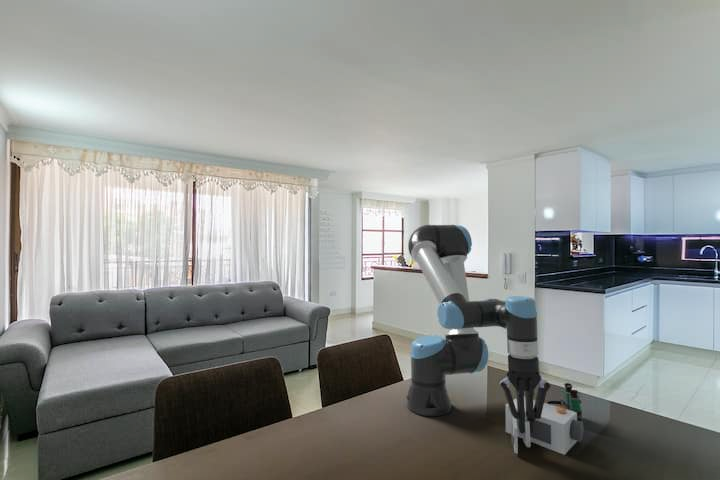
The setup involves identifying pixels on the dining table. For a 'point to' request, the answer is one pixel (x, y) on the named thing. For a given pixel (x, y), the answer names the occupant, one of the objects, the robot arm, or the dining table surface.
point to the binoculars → (570, 401)
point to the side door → (514, 434)
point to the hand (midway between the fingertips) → (526, 444)
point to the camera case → (551, 427)
